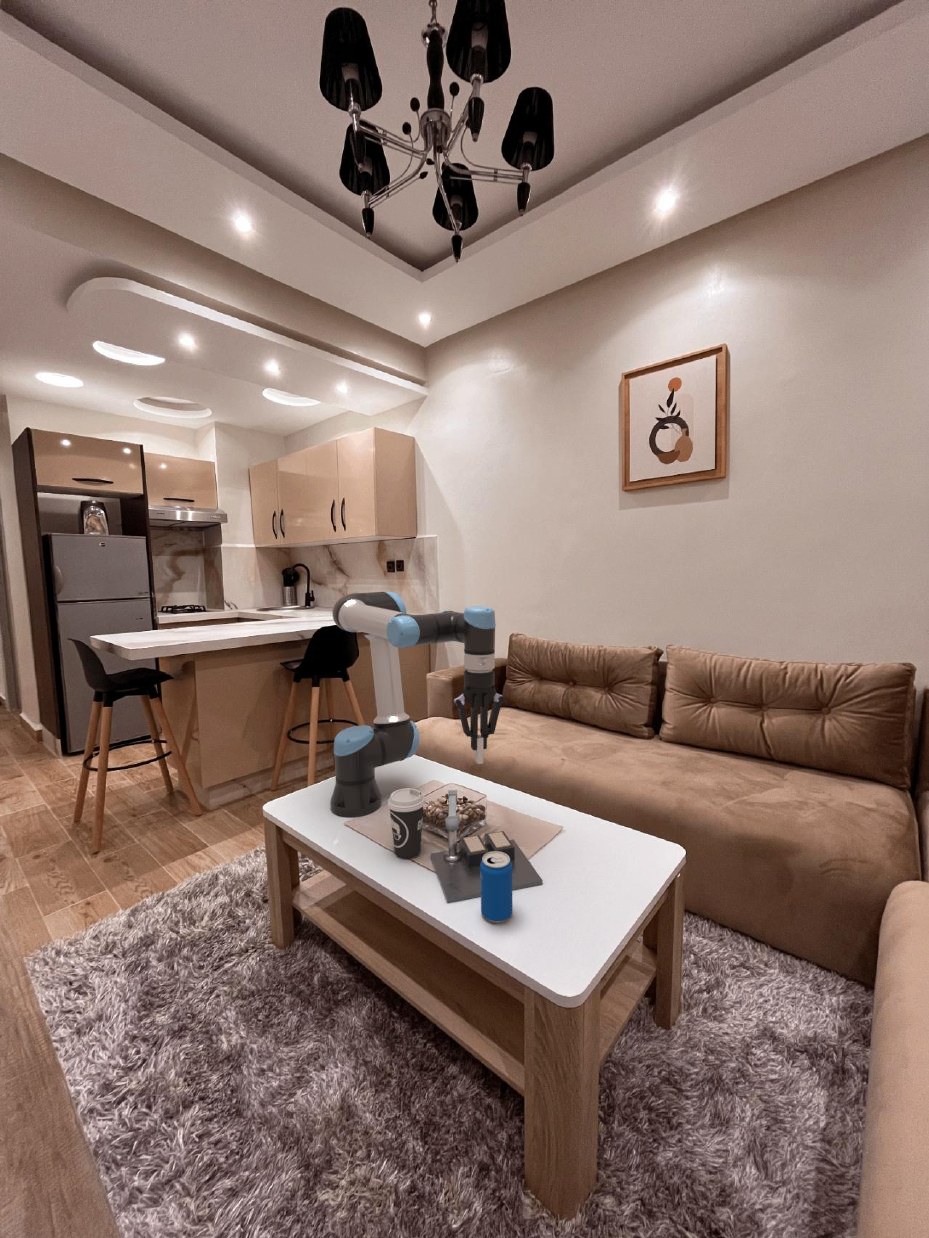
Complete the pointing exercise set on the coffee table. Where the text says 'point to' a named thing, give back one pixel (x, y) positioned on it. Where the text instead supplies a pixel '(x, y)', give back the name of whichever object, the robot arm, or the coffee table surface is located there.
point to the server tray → (478, 865)
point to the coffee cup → (406, 821)
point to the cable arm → (452, 811)
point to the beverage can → (496, 886)
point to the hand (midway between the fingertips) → (478, 761)
